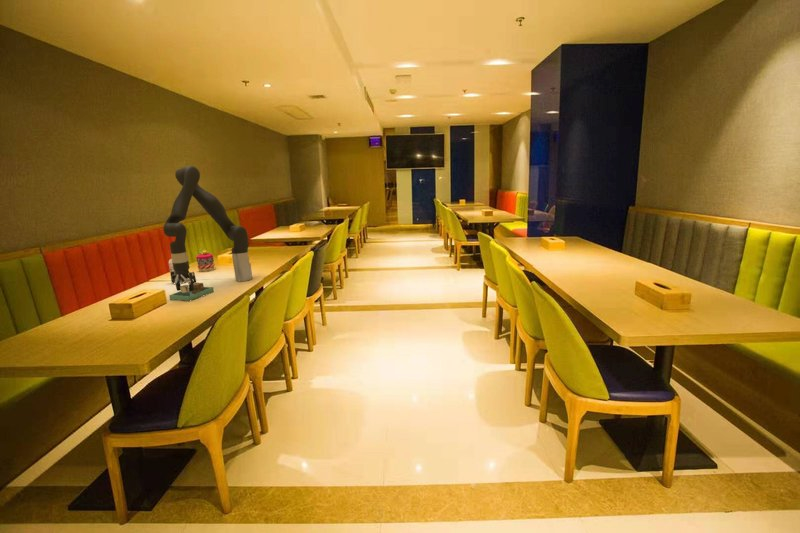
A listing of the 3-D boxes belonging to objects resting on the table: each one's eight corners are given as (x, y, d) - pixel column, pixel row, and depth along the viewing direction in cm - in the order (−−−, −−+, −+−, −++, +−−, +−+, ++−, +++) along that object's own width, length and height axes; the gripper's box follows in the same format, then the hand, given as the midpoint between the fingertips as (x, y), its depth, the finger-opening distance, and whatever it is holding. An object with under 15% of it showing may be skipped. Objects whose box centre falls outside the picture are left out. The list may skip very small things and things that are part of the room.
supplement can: (189, 280, 255) (185, 257, 251) (181, 284, 247) (177, 260, 243) (177, 280, 255) (173, 257, 252) (169, 284, 247) (164, 260, 244)
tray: (195, 290, 231) (194, 286, 230) (213, 291, 227) (213, 287, 226) (170, 300, 215) (169, 295, 214) (189, 301, 211) (188, 296, 210)
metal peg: (180, 297, 216) (178, 287, 214) (186, 295, 220) (184, 284, 218) (186, 298, 215) (183, 287, 213) (192, 295, 218) (189, 284, 217)
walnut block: (197, 291, 227) (196, 282, 226) (204, 291, 226) (203, 282, 225) (191, 293, 223) (190, 284, 222) (198, 293, 222) (196, 285, 221)
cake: (218, 269, 282) (215, 248, 279) (204, 272, 274) (200, 251, 270) (209, 268, 288) (206, 247, 284) (195, 271, 279) (191, 250, 276)
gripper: (196, 259, 214) (201, 289, 218) (175, 259, 218) (180, 288, 222) (185, 263, 207) (190, 293, 211) (163, 262, 211) (169, 292, 215)
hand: (185, 290), depth 216 cm, fingers open, 8 cm apart
